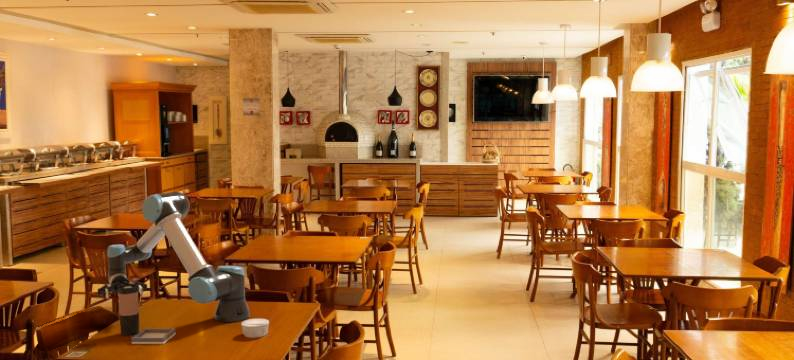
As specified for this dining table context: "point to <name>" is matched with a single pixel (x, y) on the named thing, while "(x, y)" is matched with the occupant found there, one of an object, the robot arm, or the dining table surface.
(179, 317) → the dining table surface
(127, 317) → the travel mug
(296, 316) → the dining table surface
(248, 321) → the ramekin
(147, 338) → the mug dock
